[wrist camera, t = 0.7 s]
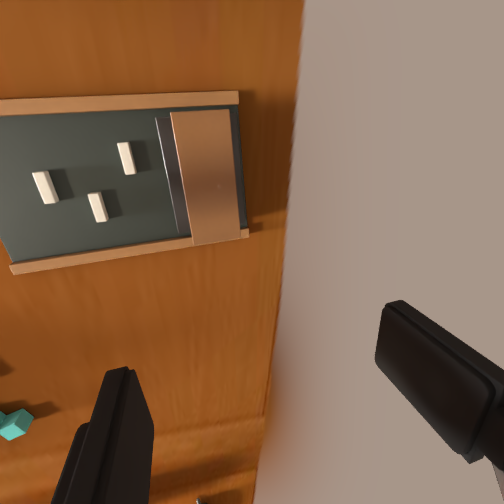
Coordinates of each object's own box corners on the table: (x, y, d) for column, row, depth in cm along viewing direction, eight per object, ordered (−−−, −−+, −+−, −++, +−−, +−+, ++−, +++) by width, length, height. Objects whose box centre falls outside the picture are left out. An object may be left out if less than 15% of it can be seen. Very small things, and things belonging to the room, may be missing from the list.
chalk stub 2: (90, 192, 27) (87, 194, 26) (100, 191, 27) (97, 193, 26) (99, 220, 28) (96, 222, 27) (109, 218, 28) (106, 221, 27)
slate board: (-64, 104, 22) (-77, 102, 21) (235, 92, 27) (238, 90, 26) (19, 269, 28) (13, 275, 27) (247, 234, 34) (249, 237, 33)
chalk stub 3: (119, 142, 26) (116, 143, 25) (129, 142, 26) (127, 142, 25) (127, 173, 27) (125, 174, 26) (137, 172, 27) (135, 173, 26)
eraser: (156, 118, 26) (150, 113, 21) (233, 113, 27) (246, 107, 23) (178, 230, 31) (178, 247, 26) (243, 221, 32) (254, 235, 28)
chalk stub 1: (36, 171, 25) (31, 172, 24) (48, 170, 25) (43, 171, 24) (48, 202, 26) (44, 204, 25) (59, 200, 26) (55, 203, 26)
